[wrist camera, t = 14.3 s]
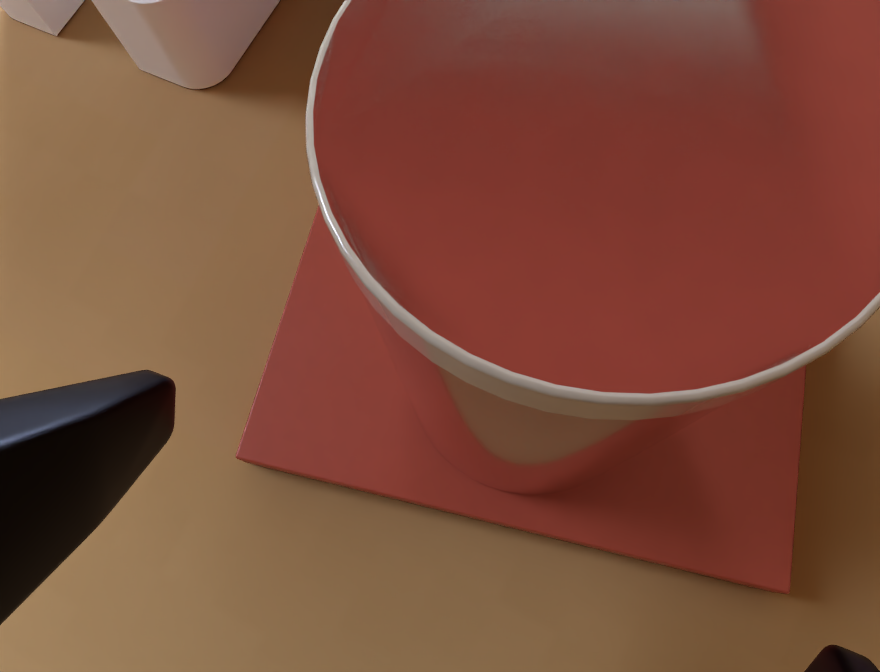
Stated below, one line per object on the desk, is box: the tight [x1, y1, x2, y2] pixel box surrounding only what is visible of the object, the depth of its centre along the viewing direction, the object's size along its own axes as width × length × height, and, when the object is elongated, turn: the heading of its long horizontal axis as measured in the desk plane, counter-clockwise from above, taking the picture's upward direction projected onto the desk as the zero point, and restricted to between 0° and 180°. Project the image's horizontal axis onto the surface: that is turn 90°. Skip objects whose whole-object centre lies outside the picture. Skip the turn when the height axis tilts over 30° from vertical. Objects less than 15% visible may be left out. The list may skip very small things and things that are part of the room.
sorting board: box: [236, 206, 806, 594], centre depth 20 cm, size 26×14×1 cm, turn 166°
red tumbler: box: [305, 0, 880, 495], centre depth 12 cm, size 6×6×11 cm
